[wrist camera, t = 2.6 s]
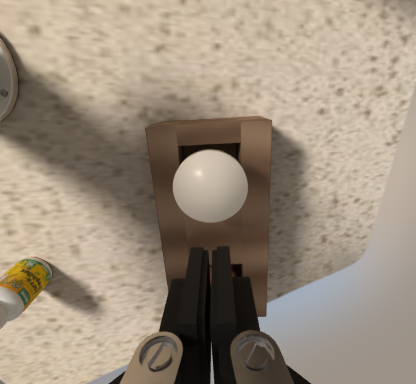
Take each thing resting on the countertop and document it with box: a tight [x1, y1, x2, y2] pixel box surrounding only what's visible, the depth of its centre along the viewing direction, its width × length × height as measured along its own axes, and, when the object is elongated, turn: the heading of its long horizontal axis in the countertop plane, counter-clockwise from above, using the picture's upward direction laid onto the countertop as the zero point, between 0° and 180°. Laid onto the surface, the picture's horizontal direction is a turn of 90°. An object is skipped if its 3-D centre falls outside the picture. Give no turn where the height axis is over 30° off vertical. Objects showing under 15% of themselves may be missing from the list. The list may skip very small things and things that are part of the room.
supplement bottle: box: [0, 257, 52, 329], centre depth 34 cm, size 5×5×10 cm
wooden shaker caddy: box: [145, 116, 272, 317], centre depth 31 cm, size 24×12×7 cm, turn 3°
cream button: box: [173, 147, 248, 223], centre depth 24 cm, size 6×6×6 cm
